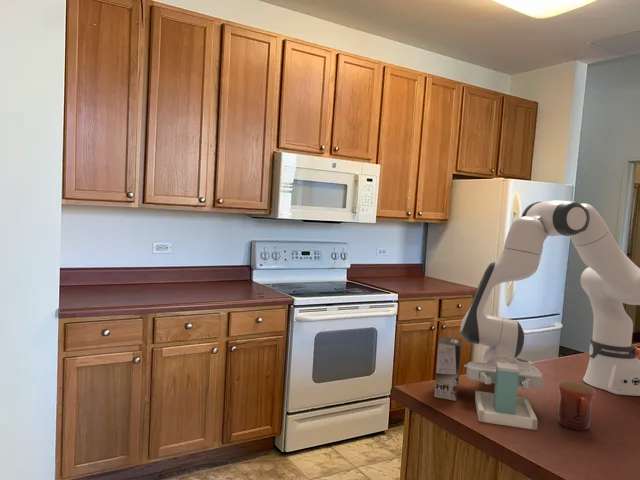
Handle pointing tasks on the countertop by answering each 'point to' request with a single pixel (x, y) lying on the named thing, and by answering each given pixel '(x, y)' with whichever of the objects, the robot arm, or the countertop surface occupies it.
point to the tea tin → (506, 388)
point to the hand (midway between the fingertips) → (506, 384)
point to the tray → (521, 418)
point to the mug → (575, 404)
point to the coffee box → (447, 368)
